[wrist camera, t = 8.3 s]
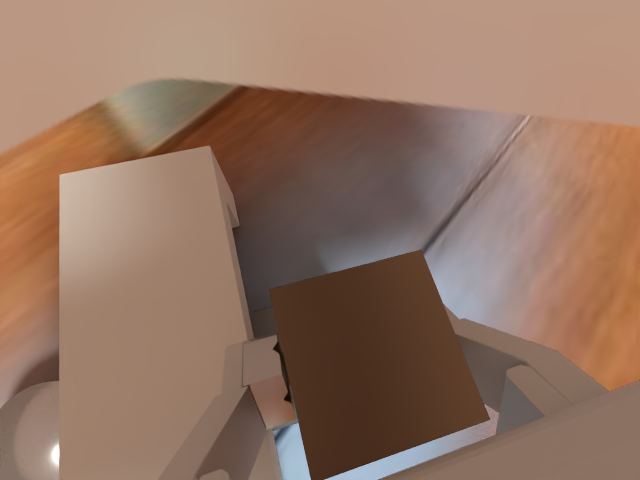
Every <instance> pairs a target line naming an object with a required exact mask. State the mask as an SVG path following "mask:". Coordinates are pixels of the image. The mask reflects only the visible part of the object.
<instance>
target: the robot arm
mask: <svg viewBox="0 0 640 480" xmlns="http://www.w3.org/2000/svg"><path fill="white" fill-rule="evenodd" d="M443 305H444V304H443ZM444 307H445V310H446V312H447V315H448V317H449V320H450V322H451V324H452V327H453V329H454V332H455V334H456V337H457V339H458V342H459V344H460V347H461V349H462V351H463V354H464V356H465V359H466V361H467V364H468V366H469V369H470V371H471V374H472V376H473V378H474V381H475V383H476V386H477V388H478V391H479V393H480V396H481V398H482V401H483V403H484V404H486V405H487V406H489V407H490V408H492V409H494V410H495V411H497V412H498V413H499V416H498V422H497V428H496V434H495V435H494V436H491V437H488V438H486V439H483V440H480V441H478V442H475V443H472V444H470V445H467V446H465V447H462V448H459V449H457V450H454V451H451V452H449V453H446V454H443V455H441V456H438V457H436V458H433V459H430V460H428V461H425V462H422V463H420V464H417V465H415V466H412V467H409V468H407V469H404V470H401V471H399V472H396V473H394V474H391V475H388V476H386V477H383V478H380V479H378V480H640V380H638V381H635V382H633V383H630V384H627V385H625V386H622V387H620V388H617V389H614V390H612V391H608V390H607V389H606V388H604V387H603V386H602V385H601V384H599V383H598V382H597V381H595V380H594V379H593V378H592V377H590V376H589V375H588V374H586V373H585V372H584V371H583V370H581V369H580V368H579V367H578V366H576V365H575V364H574V363H572V362H571V361H570V360H569V359H567V358H566V357H565V356H563V355H562V354H561V353H560V352H558V351H556V350H554V349H551V348H548V347H545V346H542V345H539V344H536V343H533V342H531V341H528V340H525V339H522V338H519V337H516V336H513V335H511V334H508V333H505V332H502V331H499V330H496V329H493V328H490V327H488V326H485V325H482V324H479V323H476V322H473V321H470V320H467V319H465V318H463V319H460V320H459V319H458V318H457V317H456V316H455V315H454V314H453V313H452V312H451V311H450V310H449V309H448V308H447V307H446V306H445V305H444ZM289 386H290V382H289V377H288V373H287V368H286V364H285V359H284V355H283V352H282V350H281V344H280V340H279V337H278V334H277V332H276V333H273V334H269V335H265V336H261V337H258V338H254V339H250V340H246V341H244V342H240V343H236V344H233V345H229V346H227V347H226V349H225V356H224V368H223V381H222V393H221V394H220V395H217V396H216V397H215V398H214V399H213V401H212V402H211V404H210V405H209V407H208V408H207V409H206V411H205V412H204V414H203V415H202V417H201V418H200V420H199V421H198V422H197V424H196V425H195V427H194V428H193V430H192V431H191V432H190V434H189V435H188V437H187V438H186V440H185V441H184V443H183V444H182V445H181V447H180V448H179V450H178V451H177V453H176V454H175V455H174V457H173V458H172V460H171V461H170V463H169V464H168V466H167V467H166V468H165V470H164V471H163V473H162V474H161V476H160V477H159V478H158V480H248V479H249V476H250V474H251V471H252V469H253V466H254V463H255V461H256V458H257V456H258V453H259V451H260V448H261V446H262V443H263V440H264V438H265V435H266V433H267V431H266V430H267V429H270V428H273V427H276V426H278V425H281V424H284V423H286V422H289V421H292V420H295V419H296V415H295V409H294V402H293V397H292V393H291V390H290V387H289Z"/></svg>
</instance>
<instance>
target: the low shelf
mask: <svg viewBox="0 0 640 480" xmlns="http://www.w3.org/2000/svg"><path fill="white" fill-rule="evenodd" d="M239 226H240V225H239V220H238V215H237V211H236V206H235V201H234V196H233V194H232V192H231V189H230V187H229V185H228V183H227V181H226V179H225V177H224V175H223V173H222V170H221V168H220V166H219V164H218V162H217V160H216V158H215V156H214V154H213V151H212V149H211V147H210V145H209V146H204V147H199V148H194V149H188V150H183V151H178V152H173V153H168V154H163V155H158V156H153V157H148V158H142V159H137V160H132V161H127V162H122V163H117V164H112V165H107V166H102V167H97V168H91V169H86V170H81V171H76V172H71V173H66V174H61V175H60V238H59V480H158V478H159V477H160V476H161V474H162V473H163V471H164V470H165V468H166V467H167V466H168V464H169V463H170V461H171V460H172V458H173V457H174V455H175V454H176V453H177V451H178V450H179V448H180V447H181V445H182V444H183V443H184V441H185V440H186V438H187V437H188V435H189V434H190V432H191V431H192V430H193V428H194V427H195V425H196V424H197V422H198V421H199V420H200V418H201V417H202V415H203V414H204V412H205V411H206V409H207V408H208V407H209V405H210V404H211V402H212V401H213V399H214V398H215V397H216V396H217V395H220V394H221V393H222V381H223V368H224V356H225V349H226V347H227V346H229V345H233V344H236V343H240V342H244V341H246V340H250V339H254V336H253V331H252V326H251V321H250V316H249V311H248V306H247V301H246V296H245V291H244V286H243V281H242V276H241V271H240V266H239V261H238V256H237V252H236V247H235V242H234V237H233V232H232V228H235V227H239ZM266 431H267V433H266V435H265V438H264V440H263V443H262V446H261V448H260V451H259V453H258V456H257V458H256V461H255V463H254V466H253V469H252V471H251V474H250V476H249V479H248V480H283V479H282V474H281V469H280V464H279V459H278V454H277V449H276V444H275V440H274V435H273V430H272V428H270V429H267V430H266Z"/></svg>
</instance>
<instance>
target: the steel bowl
mask: <svg viewBox="0 0 640 480" xmlns="http://www.w3.org/2000/svg"><path fill="white" fill-rule="evenodd" d="M0 480H59V380H58V381H51V382H44V383H39V384H36V385H33V386H30V387H28V388H26V389H24V390H22V391H21V392H19V393H18V394H16V395H15V396H13V397H12V398H11V399H10V400H8V401H7V402H6V403H5V404H4V405H3V406H2V407H1V409H0Z"/></svg>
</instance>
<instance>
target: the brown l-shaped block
mask: <svg viewBox="0 0 640 480" xmlns="http://www.w3.org/2000/svg"><path fill="white" fill-rule="evenodd" d="M269 291H270V296H271V300H272V305H273V307H269V308H266V309H262V310H258V311H255V312H251V313H249V316H250V321H251V326H252V331H253V336H254V338H258V337H261V336H265V335H269V334H273V333H276V332H277V334H278V337H279V340H280V344H281V350H282V352H283V355H284V359H285V364H286V368H287V373H288V377H289V382H290V386H289V387H290V390H291V393H292V397H293V402H294V409H295V415H296V419H295V420H292V421H289V422H286V423H284V424H281V425H278V426H276V427H273V428H272V430H273V431H274V430H277V429H280V428H283V427H287V426H290V425H293V424H296V423H299V427H300V432H301V436H302V441H303V445H304V450H305V454H306V459H307V463H308V468H309V472H310V477H311V480H324V479H327V478H330V477H333V476H335V475H338V474H341V473H344V472H346V471H349V470H352V469H355V468H357V467H360V466H363V465H366V464H369V463H371V462H374V461H377V460H380V459H382V458H385V457H388V456H391V455H394V454H396V453H399V452H402V451H405V450H407V449H410V448H413V447H416V446H418V445H421V444H424V443H427V442H430V441H432V440H435V439H438V438H441V437H443V436H446V435H449V434H452V433H455V432H457V431H460V430H463V429H466V428H468V427H471V426H474V425H477V424H480V423H482V422H485V421H488V420H490V418H489V415H488V413H487V410H486V408H485V406H484V403H483V401H482V398H481V396H480V393H479V391H478V388H477V386H476V383H475V381H474V378H473V376H472V374H471V371H470V369H469V366H468V364H467V361H466V359H465V356H464V354H463V351H462V349H461V347H460V344H459V342H458V339H457V337H456V334H455V332H454V329H453V327H452V324H451V322H450V320H449V317H448V315H447V312H446V310H445V307H444V305H443V302H442V300H441V297H440V295H439V293H438V290H437V288H436V285H435V283H434V280H433V278H432V275H431V273H430V270H429V268H428V265H427V263H426V261H425V258H424V256H423V253H422V251H421V250H418V251H414V252H410V253H406V254H402V255H399V256H395V257H391V258H387V259H383V260H380V261H376V262H372V263H368V264H364V265H361V266H357V267H353V268H349V269H345V270H341V271H338V272H334V273H330V274H326V275H322V276H319V277H315V278H311V279H307V280H303V281H299V282H296V283H292V284H288V285H284V286H280V287H277V288H273V289H269Z"/></svg>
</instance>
